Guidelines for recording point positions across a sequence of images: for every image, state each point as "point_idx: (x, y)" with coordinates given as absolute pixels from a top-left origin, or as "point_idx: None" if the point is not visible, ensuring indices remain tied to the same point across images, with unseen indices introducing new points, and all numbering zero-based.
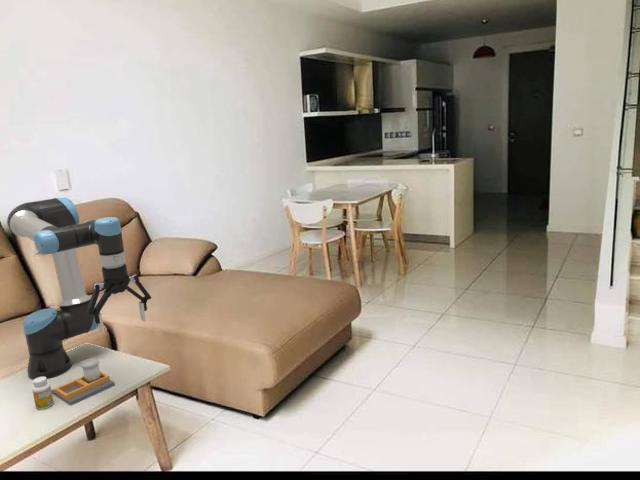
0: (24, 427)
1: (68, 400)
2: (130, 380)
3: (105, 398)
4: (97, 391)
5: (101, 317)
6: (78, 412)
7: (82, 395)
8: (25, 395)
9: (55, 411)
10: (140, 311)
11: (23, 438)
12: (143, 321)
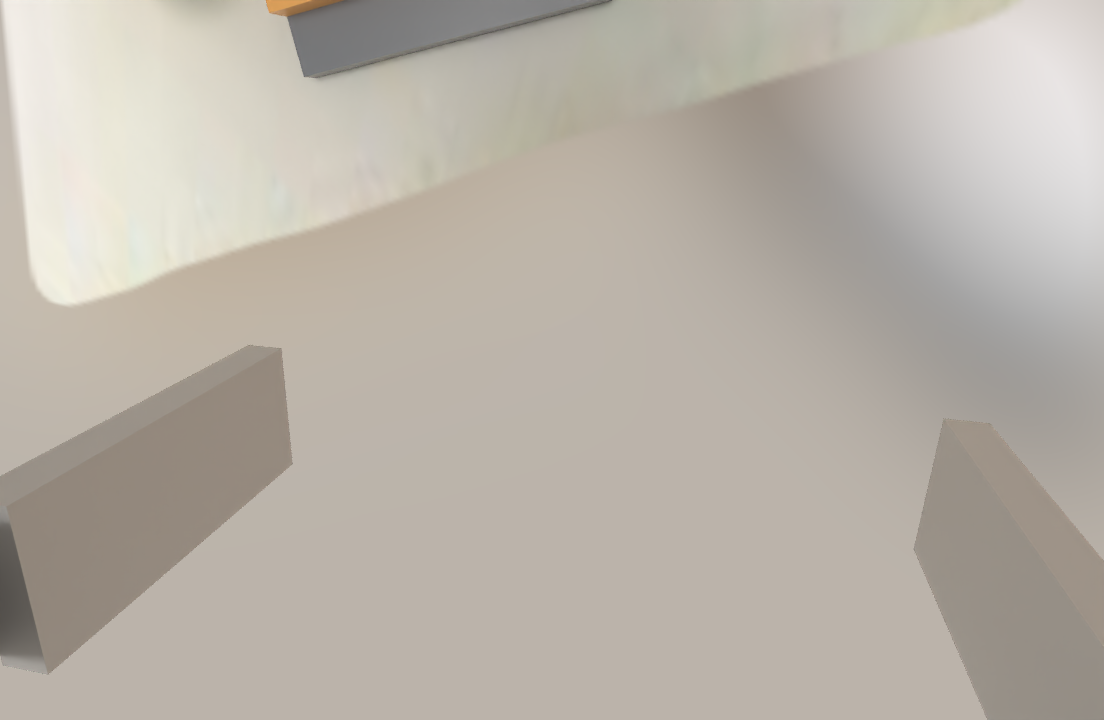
0: (92, 136)
1: (298, 37)
2: (729, 12)
3: (504, 152)
4: (481, 32)
5: (97, 623)
6: (340, 199)
7: (381, 35)
8: None
9: (235, 79)
10: (996, 545)
11: (93, 246)
12: (917, 534)
